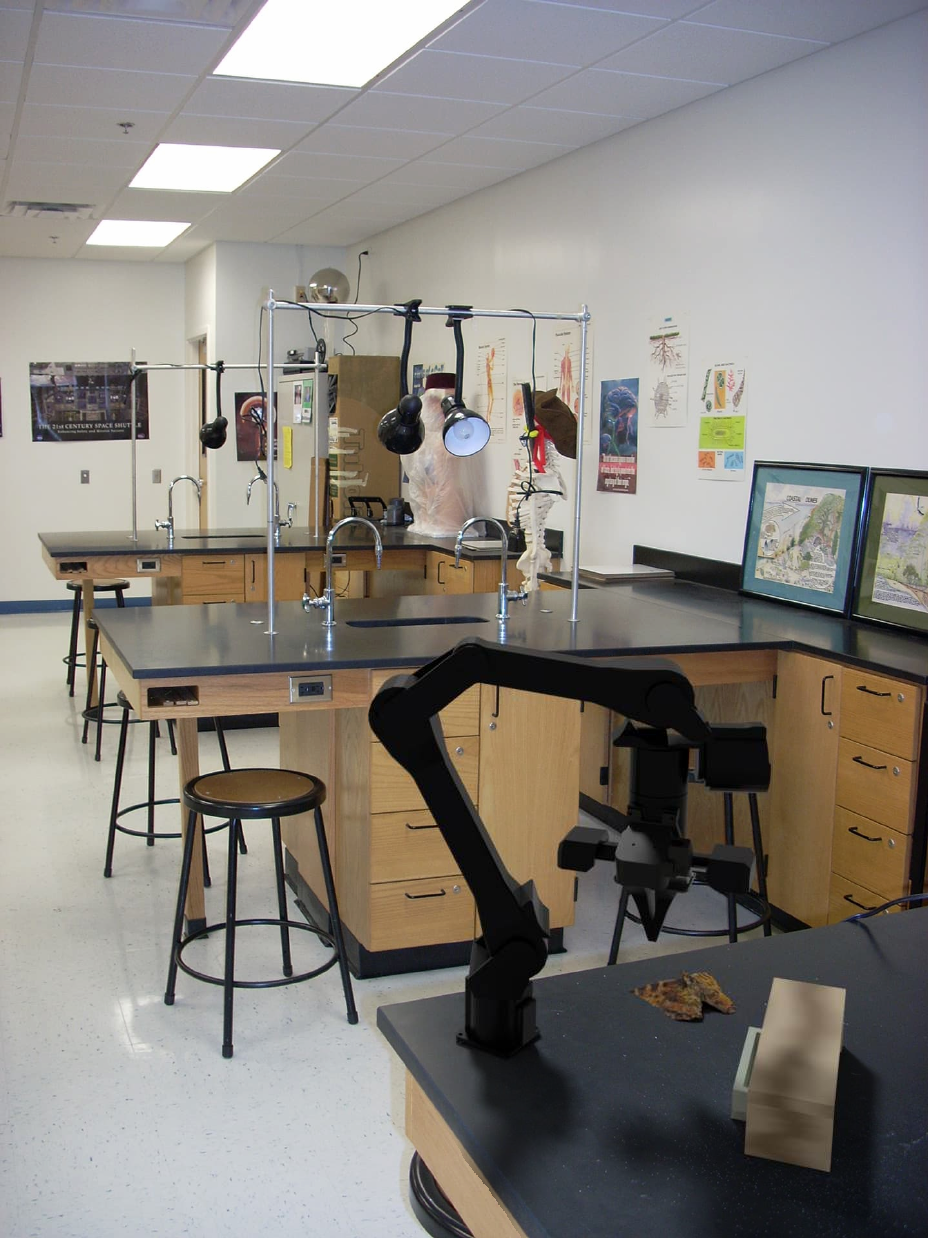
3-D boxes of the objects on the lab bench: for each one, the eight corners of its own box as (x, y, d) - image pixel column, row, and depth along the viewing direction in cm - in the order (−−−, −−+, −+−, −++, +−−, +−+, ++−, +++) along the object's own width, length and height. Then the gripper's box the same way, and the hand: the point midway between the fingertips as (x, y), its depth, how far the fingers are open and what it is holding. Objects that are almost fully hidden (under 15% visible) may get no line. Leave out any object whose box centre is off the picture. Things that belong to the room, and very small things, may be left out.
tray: (731, 1118, 106) (732, 1089, 106) (747, 1053, 118) (749, 1026, 117) (800, 1132, 104) (801, 1103, 104) (810, 1064, 116) (812, 1038, 115)
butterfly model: (622, 998, 130) (622, 972, 129) (713, 977, 135) (714, 951, 135) (667, 1034, 122) (669, 1007, 122) (763, 1010, 127) (764, 984, 127)
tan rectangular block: (744, 1154, 101) (747, 1089, 100) (771, 1032, 122) (774, 977, 121) (829, 1172, 99) (833, 1106, 98) (842, 1044, 119) (845, 989, 118)
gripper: (542, 803, 111) (539, 959, 113) (745, 827, 104) (737, 992, 107) (573, 770, 121) (570, 914, 124) (759, 791, 115) (752, 942, 117)
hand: (653, 940), depth 118 cm, fingers closed
